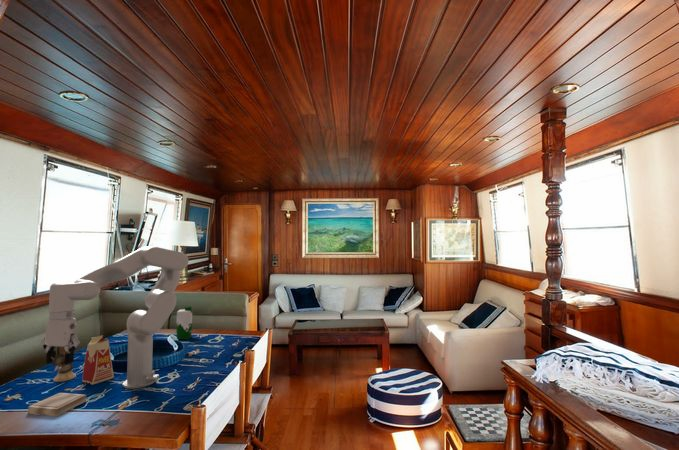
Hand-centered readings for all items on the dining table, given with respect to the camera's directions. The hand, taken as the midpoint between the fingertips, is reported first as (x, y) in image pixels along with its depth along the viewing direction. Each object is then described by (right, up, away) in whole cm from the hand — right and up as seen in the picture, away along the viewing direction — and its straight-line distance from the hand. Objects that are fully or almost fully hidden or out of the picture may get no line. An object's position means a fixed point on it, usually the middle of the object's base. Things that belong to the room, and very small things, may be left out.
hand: (59, 362), depth 133 cm
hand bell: (-20, -18, +28) cm, 38 cm away
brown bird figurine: (+2, -3, -1) cm, 3 cm away
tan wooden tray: (0, -16, -1) cm, 16 cm away
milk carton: (-4, -18, +26) cm, 32 cm away
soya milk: (+5, -21, +94) cm, 97 cm away
